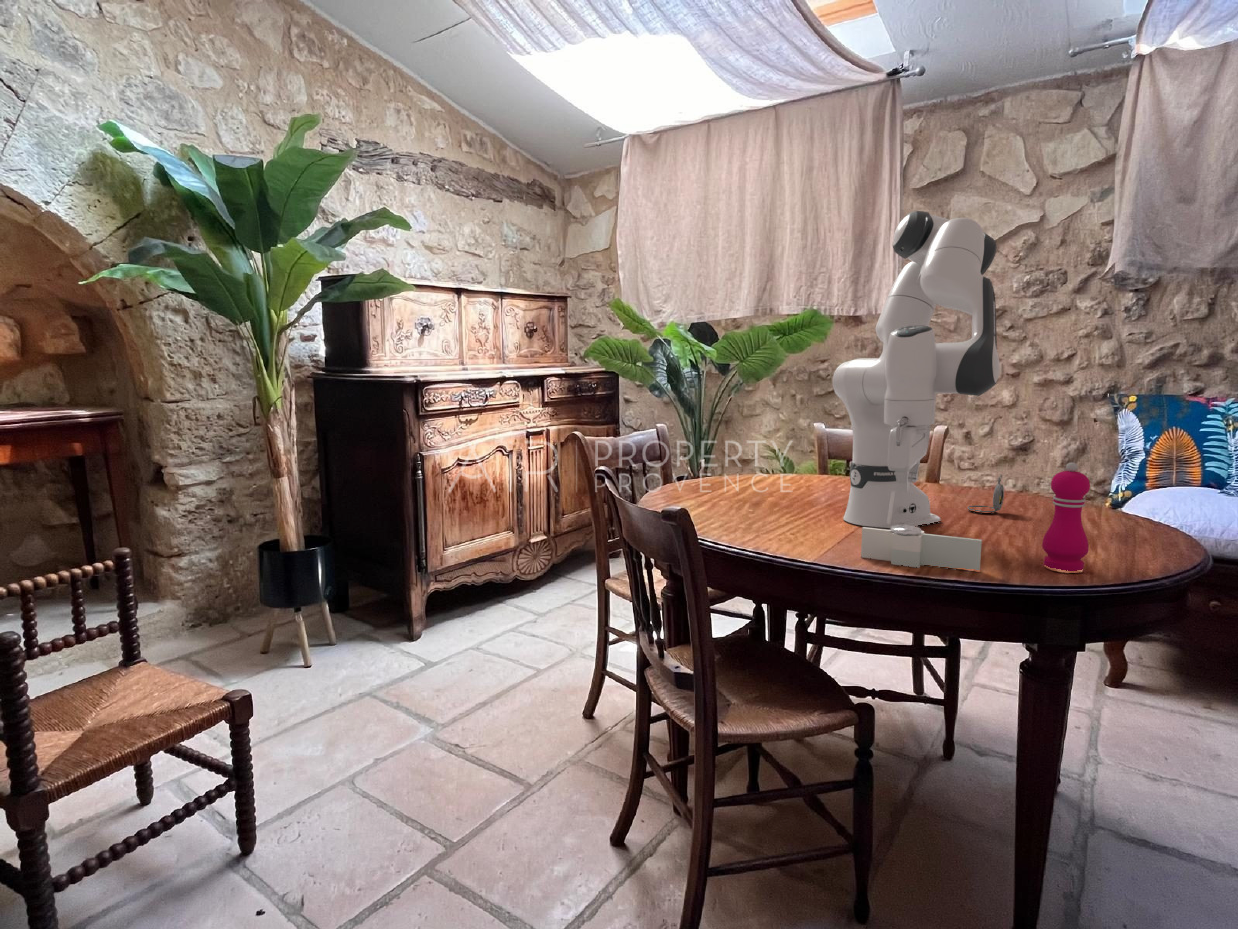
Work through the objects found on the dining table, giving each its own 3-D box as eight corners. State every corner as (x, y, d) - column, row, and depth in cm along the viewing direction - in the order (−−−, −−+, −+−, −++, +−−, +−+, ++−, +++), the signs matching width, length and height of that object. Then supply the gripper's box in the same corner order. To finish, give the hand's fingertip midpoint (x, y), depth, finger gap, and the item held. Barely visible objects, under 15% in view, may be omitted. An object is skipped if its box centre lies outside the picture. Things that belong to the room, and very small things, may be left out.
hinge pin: (905, 555, 138) (907, 524, 137) (925, 562, 133) (927, 530, 132) (883, 557, 136) (884, 526, 135) (902, 565, 131) (904, 532, 130)
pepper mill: (1031, 564, 132) (1039, 460, 129) (1067, 562, 133) (1076, 459, 130) (1058, 575, 125) (1067, 466, 122) (1096, 574, 126) (1106, 464, 123)
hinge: (980, 568, 130) (982, 537, 129) (978, 575, 126) (980, 543, 125) (864, 553, 141) (865, 524, 140) (858, 560, 137) (859, 530, 136)
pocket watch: (963, 509, 180) (965, 470, 179) (998, 509, 179) (1000, 471, 178) (975, 516, 172) (977, 476, 171) (1011, 516, 171) (1014, 476, 170)
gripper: (917, 421, 120) (915, 499, 123) (936, 408, 137) (933, 477, 139) (879, 420, 124) (877, 496, 126) (902, 408, 140) (900, 475, 143)
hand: (907, 486), depth 133 cm, fingers open, 8 cm apart
